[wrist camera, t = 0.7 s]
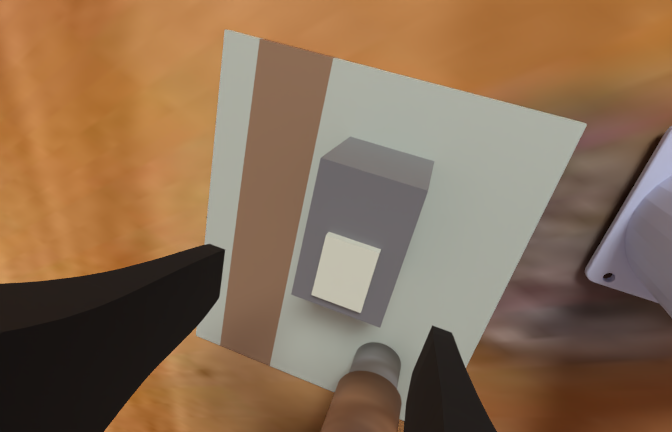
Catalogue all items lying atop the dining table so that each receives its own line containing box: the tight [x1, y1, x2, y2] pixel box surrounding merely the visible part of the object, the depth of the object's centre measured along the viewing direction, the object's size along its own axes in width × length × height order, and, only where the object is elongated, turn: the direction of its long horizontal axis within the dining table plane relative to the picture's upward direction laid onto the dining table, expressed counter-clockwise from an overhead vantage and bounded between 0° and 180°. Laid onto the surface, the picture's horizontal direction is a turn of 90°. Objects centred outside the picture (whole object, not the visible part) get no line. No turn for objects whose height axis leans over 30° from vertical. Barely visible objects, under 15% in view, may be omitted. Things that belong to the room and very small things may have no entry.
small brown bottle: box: [320, 342, 402, 432], centre depth 22 cm, size 4×4×7 cm
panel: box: [196, 30, 587, 421], centre depth 23 cm, size 18×21×1 cm
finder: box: [291, 137, 434, 328], centre depth 19 cm, size 4×7×5 cm, turn 167°
